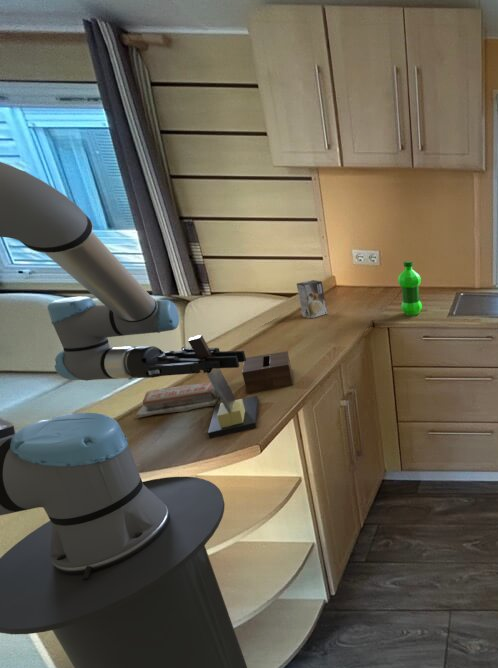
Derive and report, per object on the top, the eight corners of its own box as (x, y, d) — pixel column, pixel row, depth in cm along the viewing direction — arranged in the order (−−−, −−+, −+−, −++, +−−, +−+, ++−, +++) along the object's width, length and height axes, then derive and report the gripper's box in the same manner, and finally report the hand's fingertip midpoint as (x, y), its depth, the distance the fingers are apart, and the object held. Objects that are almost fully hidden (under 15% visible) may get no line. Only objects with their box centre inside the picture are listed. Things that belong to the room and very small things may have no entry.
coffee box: (319, 311, 198) (314, 279, 192) (327, 314, 195) (322, 281, 189) (302, 316, 191) (296, 283, 185) (310, 318, 188) (304, 284, 182)
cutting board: (256, 427, 103) (255, 422, 102) (209, 438, 99) (207, 432, 98) (258, 400, 116) (257, 395, 116) (217, 408, 112) (215, 403, 111)
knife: (235, 411, 100) (197, 341, 92) (225, 415, 99) (185, 344, 91) (239, 397, 107) (203, 331, 99) (229, 401, 106) (192, 334, 98)
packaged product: (219, 376, 120) (211, 391, 111) (223, 391, 121) (215, 406, 113) (144, 386, 113) (129, 403, 105) (149, 402, 115) (135, 419, 106)
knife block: (292, 385, 125) (288, 364, 122) (247, 393, 120) (241, 372, 117) (291, 370, 135) (287, 351, 132) (249, 377, 130) (244, 357, 127)
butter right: (243, 422, 102) (239, 410, 101) (232, 425, 101) (228, 412, 100) (245, 410, 108) (242, 398, 107) (234, 412, 107) (231, 400, 106)
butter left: (232, 425, 101) (228, 413, 100) (220, 428, 100) (217, 415, 99) (234, 412, 107) (231, 400, 106) (223, 414, 106) (220, 402, 104)
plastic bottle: (397, 316, 192) (392, 263, 183) (407, 310, 201) (403, 259, 192) (417, 317, 190) (413, 264, 181) (426, 311, 199) (422, 260, 190)
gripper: (164, 363, 105) (259, 360, 107) (116, 391, 90) (227, 387, 92) (155, 336, 102) (253, 333, 104) (105, 361, 88) (219, 357, 90)
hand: (240, 359), depth 98 cm, fingers closed on knife, 3 cm apart
